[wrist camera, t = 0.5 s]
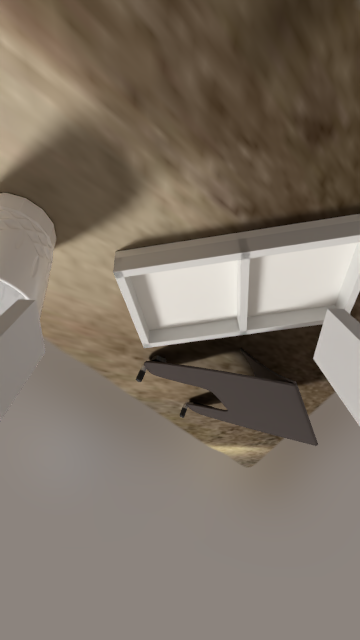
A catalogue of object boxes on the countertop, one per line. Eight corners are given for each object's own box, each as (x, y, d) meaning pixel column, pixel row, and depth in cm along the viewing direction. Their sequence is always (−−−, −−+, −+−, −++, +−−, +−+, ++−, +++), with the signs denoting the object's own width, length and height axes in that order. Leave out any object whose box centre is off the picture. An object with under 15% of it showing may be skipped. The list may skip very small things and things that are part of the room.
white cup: (66, 201, 27) (41, 283, 20) (59, 269, 32) (37, 350, 26) (-40, 171, 24) (-108, 253, 18) (-28, 250, 30) (-76, 334, 23)
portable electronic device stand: (148, 315, 48) (122, 369, 44) (307, 328, 36) (291, 404, 32) (202, 379, 64) (187, 423, 60) (324, 403, 52) (315, 459, 48)
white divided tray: (115, 251, 31) (113, 272, 29) (370, 212, 29) (385, 231, 27) (144, 328, 41) (144, 348, 39) (336, 302, 39) (346, 321, 37)
